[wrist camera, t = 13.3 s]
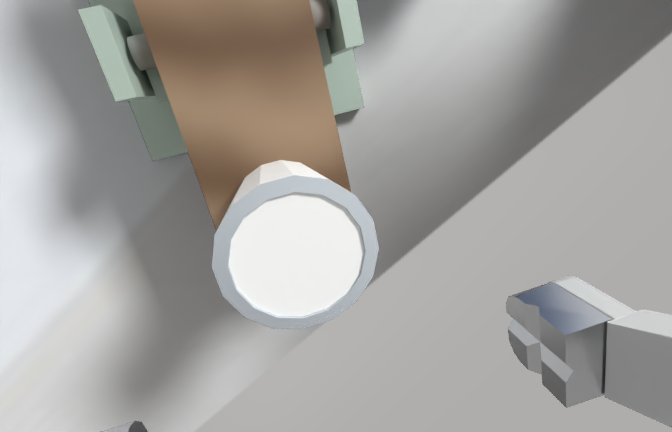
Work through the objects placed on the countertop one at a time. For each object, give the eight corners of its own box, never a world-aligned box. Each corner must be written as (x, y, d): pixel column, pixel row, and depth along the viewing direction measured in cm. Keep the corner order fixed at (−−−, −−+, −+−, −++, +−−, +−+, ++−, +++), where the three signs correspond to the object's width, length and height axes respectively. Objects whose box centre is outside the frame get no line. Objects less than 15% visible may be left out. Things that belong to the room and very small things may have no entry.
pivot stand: (326, -71, 26) (366, -154, 17) (360, 107, 30) (406, 113, 22) (83, -25, 24) (-12, -92, 15) (155, 159, 28) (113, 189, 19)
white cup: (319, 274, 24) (345, 344, 17) (207, 246, 22) (190, 314, 15) (359, 171, 22) (404, 205, 16) (242, 130, 20) (240, 150, 14)
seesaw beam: (9, -289, 15) (-56, -394, 12) (255, -314, 17) (257, -415, 13) (220, 270, 25) (215, 299, 21) (367, 226, 26) (385, 247, 22)
